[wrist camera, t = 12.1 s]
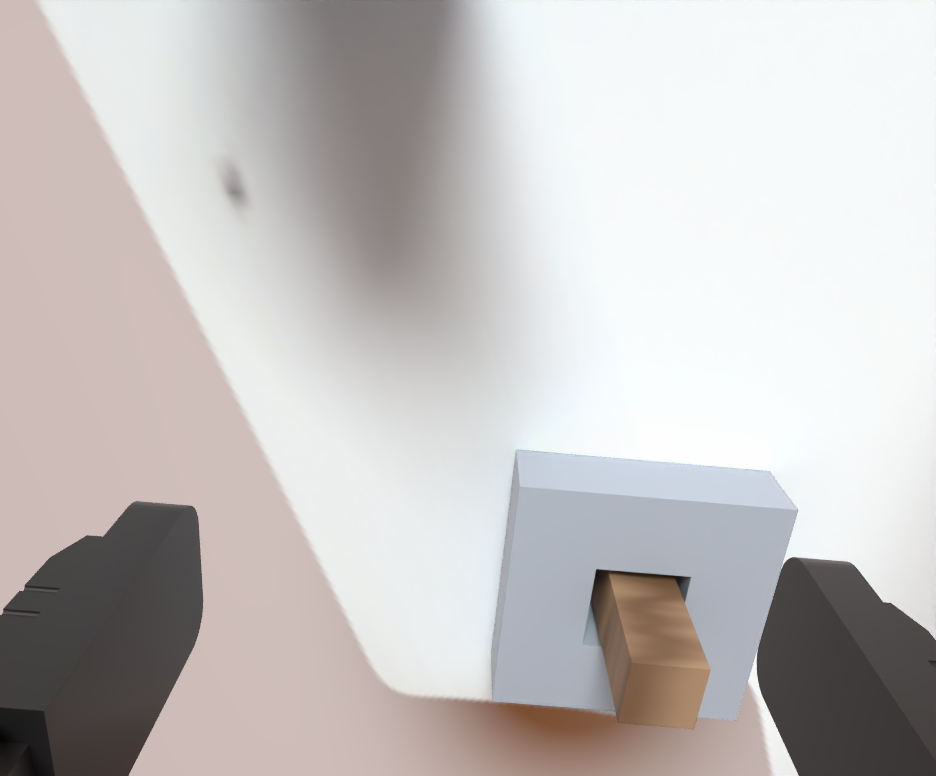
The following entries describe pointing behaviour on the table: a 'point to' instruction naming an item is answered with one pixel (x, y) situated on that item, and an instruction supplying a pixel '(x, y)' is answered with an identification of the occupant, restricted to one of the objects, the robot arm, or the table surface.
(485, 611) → the table surface
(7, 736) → the robot arm
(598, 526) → the socket block
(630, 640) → the walnut peg
